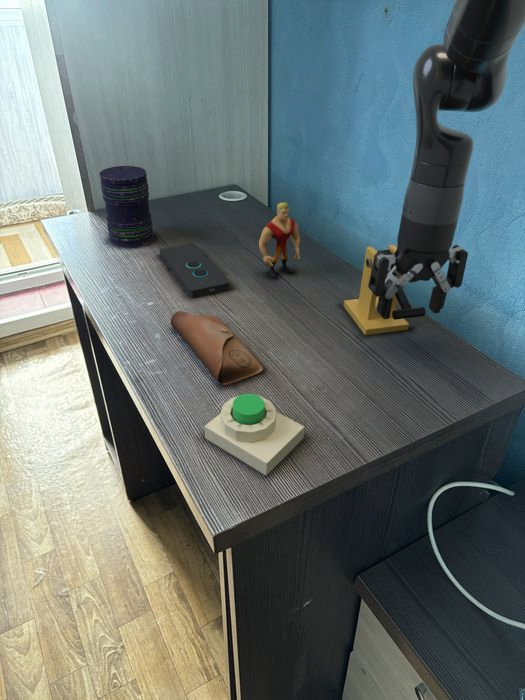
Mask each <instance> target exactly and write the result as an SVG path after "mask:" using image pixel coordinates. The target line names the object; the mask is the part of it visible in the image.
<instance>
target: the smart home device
mask: <svg viewBox="0 0 525 700" xmlns="http://www.w3.org/2000/svg"><path fill="white" fill-rule="evenodd" d="M159 256H160V257H159V258H160V259H161V260H162V262H163V263H164V264H165V266H166V267H167V268H168V270H169V271H170V272H171V274H172V275H173V276H174V278H175V279H176V280H177V282H178V283H179V284H180V286H181V287H182V288H183V290H184V291H185V292H186V294H187V296H189V297H190V298H192V299H193V298H198V297H203V296H208V295H212V294H216V293H222V292H228V291H229V290H230V280H229V279H228V278H227V277H226V276H225V275H224V274H223V272H221V270H220V269H218V267H217V266H216V265H215V264H214V262H212V261H211V260H210V258H209V257H208V256H207V255H206V253H204V252H203V251H202V250H201V249H200V248H199V247H198V245H197V244H195V243H193V242H192V243H186V244H180V245H175V246H174V245H173V246H169V247H167V246H166V247H162V248H159Z"/></svg>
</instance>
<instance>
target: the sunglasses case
mask: <svg viewBox="0 0 525 700" xmlns="http://www.w3.org/2000/svg"><path fill="white" fill-rule="evenodd" d="M170 325H171V327H172V329H173V330H174V331H175V332H176V334H178V335H179V337H180V338H181V339H182V341H184V342H185V344H186V345H187V346H188V347H189V348H190V350H191V351H192V352H193V353H194V355H195V356H196V357H197V359H198V360H199V361H200V362H201V364H202V365H203V367H205V368H206V369H207V371H208V373H209V374H210V375H211V376H212V377H213V379H214V380H215V381H216V382H217V383H218V384H220V385H221V386H223V387H226V386H229V385H232V384H237V383H240V382H242V381H244V380H247V379H250V378H253V377H254V376H257V375H259V374H261V373H262V372H264V367H263V366H262V364H261V362H260V361H259V360H258V358H256V356H254V354H253V353H252V352H251V351H250V350H249V349H248V348H247V346H245V344H244V343H242V341H240V339H239V338H238V337H237V336H236V334H234V332H233V331H232V330H231V329H230V328H229V327H228V326H227V325H226V324H225V323H224V322H223V321H222V319H220V318H219V317H218V316H216V315H204V314H195V313H191V312H186V311H182V310H178V311H176V312H174V313H173V314H172V316H171V317H170Z"/></svg>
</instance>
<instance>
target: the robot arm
mask: <svg viewBox="0 0 525 700" xmlns="http://www.w3.org/2000/svg"><path fill="white" fill-rule="evenodd" d="M524 26H525V0H455V1H454V3H453V6H452V9H451V12H450V15H449V17H448V20H447V23H446V25H445V29H444V34H443V42H442V43H435V44H432V45H428V47H426V48H425V49H424V50H423V51H422V53H420V55H419V57H418V58H417V60H416V62H415V65H414V68H413V73H412V91H413V100H414V107H415V109H414V110H415V122H416V123H415V124H416V133H415V134H416V135H415V136H416V137H415V140H416V141H415V148H414V155H413V160H412V166H411V172H410V177H409V180H408V185H407V188H406V190H405V195H404V200H403V205H402V211H401V216H400V222H399V227H398V233H397V246H396V247H397V250H396V251H395V253H394V254H393V255H383V254H382V253H381V252H377V253H376V254H375V256H374V260H373V265H372V270H371V274H370V279H369V284H368V288H369V289H370V290H371V291H372V292H373V293H374V295H375V296H377V297H379V299H378V305H377V311H378V313H379V314H380V315H381V316H382V318H383V319H389V318H390V312H391V307H392V302H393V298H392V297H393V295H394V294H395V293H396V292H397V291H398V290H399V289H404V288H405V287H406V285H407V284H408V283H416V282H419V281H422V282H423V281H424V282H428V281H430V280H431V279H432V281H433V283H434V284H435V286H432V290H431V293H430V294H431V295H430V298H429V302H428V309H429V310H430V311H431V312H432V313H433V314H439V313H441V310H443V308H444V306H445V302H446V298H447V294H448V292H449V291H451V289H453V288H456V289H458V288H460V287H461V286H462V284H463V280H464V275H465V270H466V267H467V266H466V265H467V261H468V256H469V252H468V251H467V250H465V249H464V248H463V247H461V246H460V245H459V244H454V245H453V243H454V238H455V233H456V230H457V226H458V221H459V218H460V213H461V210H462V205H463V202H464V201H463V199H464V191H465V190H464V189H465V183H466V181H467V177H468V176H467V175H468V172H469V168H470V164H471V159H472V154H473V151H474V140H473V138H472V136H471V135H469V134H468V133H466V132H463V131H460V130H457V129H453V128H449V127H448V126H445V125H442V124H441V123H440V122H439V119H438V112H441V111H445V112H464V113H465V112H466V113H478V112H483V111H486V110H488V109H489V108H491V107H493V106H494V105H495V104H496V103H498V101H499V100H500V98H501V96H502V94H503V91H504V89H505V84H506V79H507V72H508V60H509V55H510V53H511V51H512V50H511V49H512V47H513V45H514V43H515V42H516V40H517V38H518V37H519V35H520V33H521V31H522V29H523V27H524ZM447 262H448V267H447V272H446V275H445V274H444V271H443V269H442V268H443V267H444V265H445V264H447ZM392 264H395V266H394V267H393V268H392V270H391V271H390V272H389V273H388V274H387V271H389V270H390V269H391V268H390V267H391V265H392ZM399 273H400V274H401V276H402V277H401V278H400V279H398V278H397V276H398V274H399ZM386 275H387V278H386ZM385 279H386V280H385ZM389 287H390V288H389ZM388 288H389V289H388Z"/></svg>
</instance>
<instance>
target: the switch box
mask: <svg viewBox="0 0 525 700" xmlns="http://www.w3.org/2000/svg"><path fill="white" fill-rule="evenodd" d="M238 396H239V395H237V396H233V397H232V398H230V399H228V401H226V402H225V403H223V404H222V407H221V411H220V413H219V414H218V415H217V416H215V417H214V418H213V419H211V420H210V421H208V422H207V424H205V425H204V438H205V440H207V441H209V442H210V443H212V444H213V445H215V446H217V447H219V448H220V449H222V450H223V451H225V452H227V453H228V454H230V455H232V456H233V457H235V458H237V459H238V460H240V461H241V462H243V463H245V465H248V466H250V467H251V468H253V469H255V470H256V471H258V472H259V473H261V474H262V475H264V476H268V475H270V473H271V472H272V471H273V470H274V469H275V468H276V467H277V466H278V465H279V464H280V463H281V462H282V461H283V460H284V459H285V458H286V457H287V456H288V455H289V454H290V453H291V452H292V451H293V450H294V449H295V448H296V447H297V446H298V445H299V444H300V443H301V442H302V441H303V440H304V438H305V437H304V436H305V426H304V425H302V424H301V423H298V422H297V421H295V420H293V419H291V418H289V417H287V416H286V415H284V414H282V413H280V412H278V411H277V408H276V407H275V405H274V404H273V403H272V401H270V400H268V399H267V398H264V397H262V396H261V395H258V396H259V397H261V398H262V399H263V401H264V403H265V412H264V418H263V419H262V420H261V421H260V422H259V423H257V424H253V425H244V424H241V423H239V422H237V421H236V420H235V419H234V417H233V401H234V400H235V399H236V398H237V397H238Z"/></svg>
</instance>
